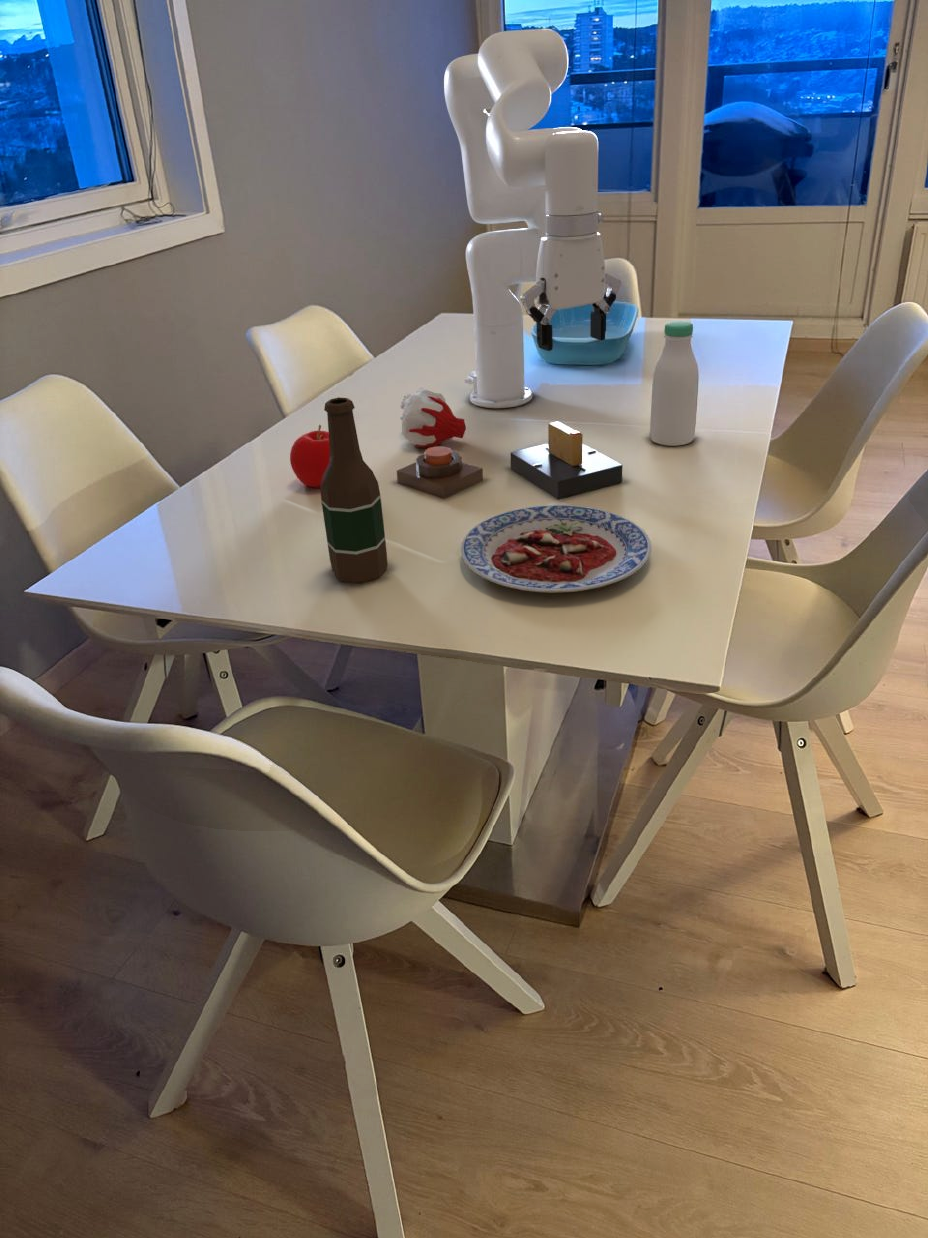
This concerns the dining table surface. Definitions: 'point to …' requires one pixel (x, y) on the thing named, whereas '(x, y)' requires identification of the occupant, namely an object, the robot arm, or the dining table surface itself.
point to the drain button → (438, 455)
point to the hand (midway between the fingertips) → (571, 343)
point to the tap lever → (565, 443)
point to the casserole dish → (588, 335)
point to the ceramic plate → (556, 548)
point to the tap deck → (566, 471)
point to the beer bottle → (351, 502)
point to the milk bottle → (675, 388)
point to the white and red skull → (429, 419)
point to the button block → (440, 476)
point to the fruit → (311, 457)
